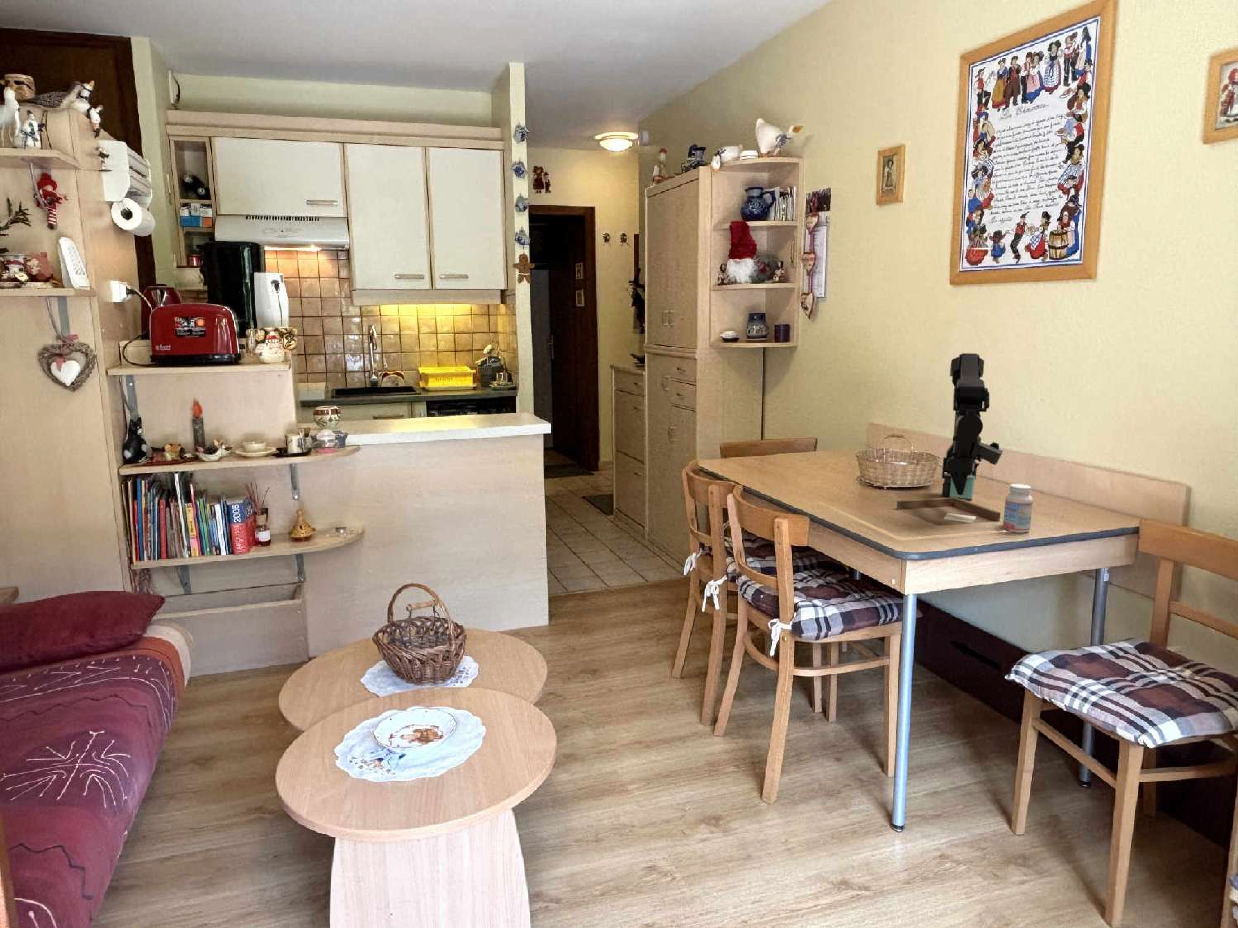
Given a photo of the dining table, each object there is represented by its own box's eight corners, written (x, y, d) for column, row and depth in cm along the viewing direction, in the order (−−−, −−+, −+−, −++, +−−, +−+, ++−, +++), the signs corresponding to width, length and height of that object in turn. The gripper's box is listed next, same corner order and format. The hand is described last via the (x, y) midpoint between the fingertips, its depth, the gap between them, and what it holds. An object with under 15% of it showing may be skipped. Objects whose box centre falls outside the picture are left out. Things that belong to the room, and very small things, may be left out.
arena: (954, 507, 227) (955, 497, 227) (999, 524, 210) (1000, 512, 210) (896, 511, 223) (897, 500, 222) (937, 528, 206) (938, 516, 205)
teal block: (952, 492, 215) (954, 474, 214) (973, 495, 213) (975, 476, 212) (949, 496, 211) (951, 477, 210) (970, 498, 208) (972, 479, 207)
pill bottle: (997, 527, 207) (1001, 483, 205) (1021, 526, 208) (1025, 483, 206) (1011, 533, 201) (1015, 488, 199) (1035, 533, 202) (1039, 488, 200)
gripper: (997, 440, 197) (991, 504, 200) (1005, 430, 213) (1000, 489, 215) (947, 436, 202) (942, 498, 205) (959, 427, 218) (955, 484, 221)
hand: (961, 492), depth 212 cm, fingers closed on teal block, 5 cm apart
